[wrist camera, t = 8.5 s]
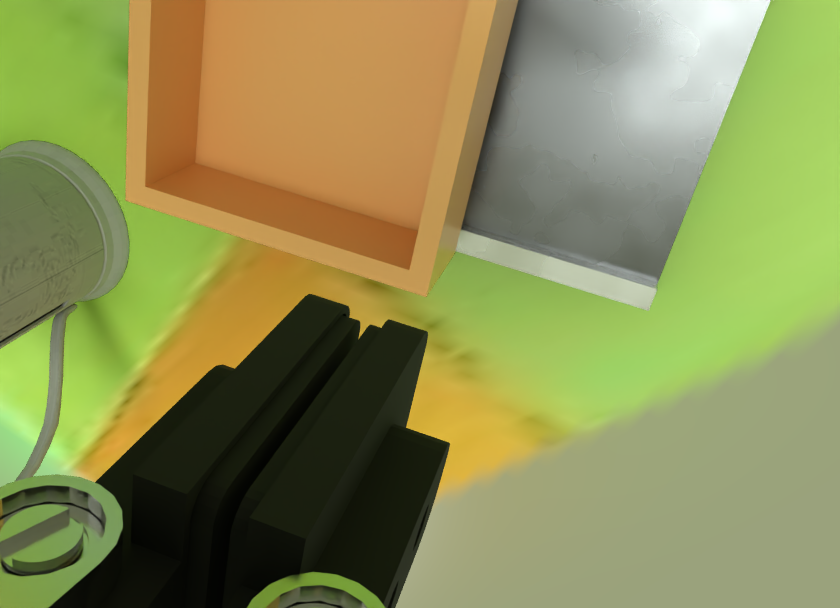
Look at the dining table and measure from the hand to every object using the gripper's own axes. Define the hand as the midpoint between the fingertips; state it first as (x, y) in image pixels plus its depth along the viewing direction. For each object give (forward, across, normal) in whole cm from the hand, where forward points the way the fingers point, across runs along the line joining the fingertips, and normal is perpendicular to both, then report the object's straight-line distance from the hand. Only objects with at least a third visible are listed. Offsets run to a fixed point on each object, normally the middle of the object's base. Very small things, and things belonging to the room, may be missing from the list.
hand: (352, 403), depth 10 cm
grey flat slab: (+23, +4, 0) cm, 23 cm away
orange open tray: (+21, +8, 0) cm, 22 cm away
